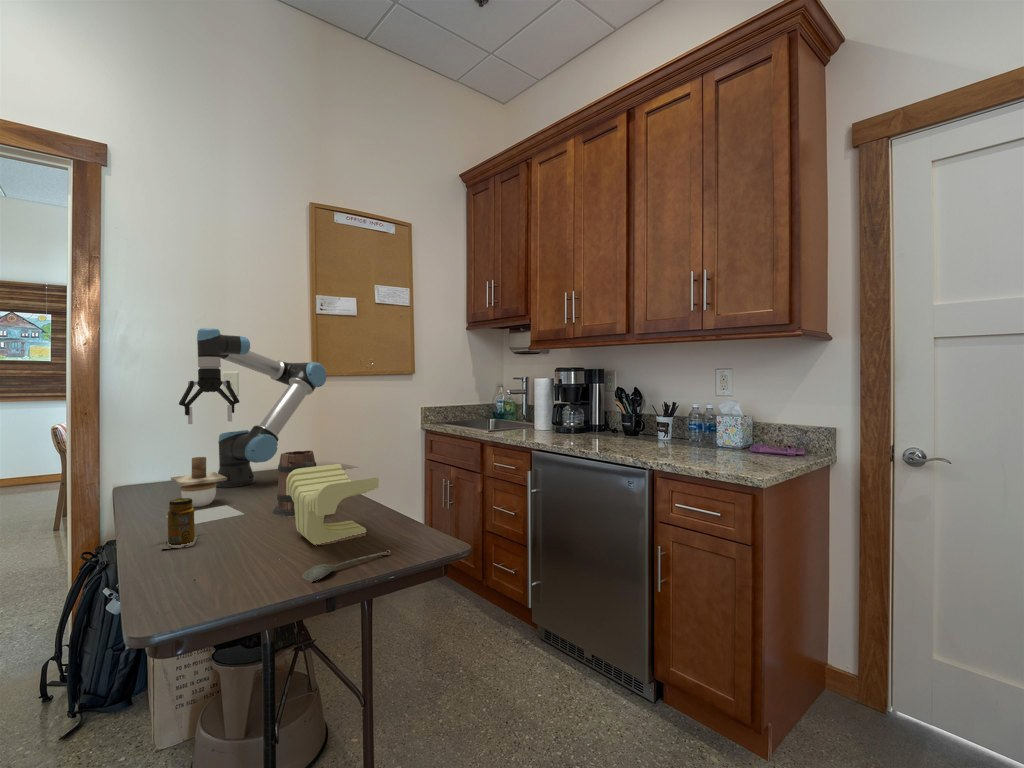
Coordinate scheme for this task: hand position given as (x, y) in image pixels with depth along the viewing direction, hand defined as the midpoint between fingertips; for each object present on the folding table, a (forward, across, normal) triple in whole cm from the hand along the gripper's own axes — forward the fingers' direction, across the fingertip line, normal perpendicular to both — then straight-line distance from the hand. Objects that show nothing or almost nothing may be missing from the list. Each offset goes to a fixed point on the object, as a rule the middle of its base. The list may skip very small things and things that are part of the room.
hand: (210, 422), depth 189 cm
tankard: (+29, -12, +52) cm, 61 cm away
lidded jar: (+29, +8, +14) cm, 33 cm away
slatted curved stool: (+29, -6, +84) cm, 89 cm away
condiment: (+29, +24, +58) cm, 69 cm away
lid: (+19, +8, +14) cm, 25 cm away
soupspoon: (+29, +3, +109) cm, 113 cm away
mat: (+29, +11, +32) cm, 44 cm away
